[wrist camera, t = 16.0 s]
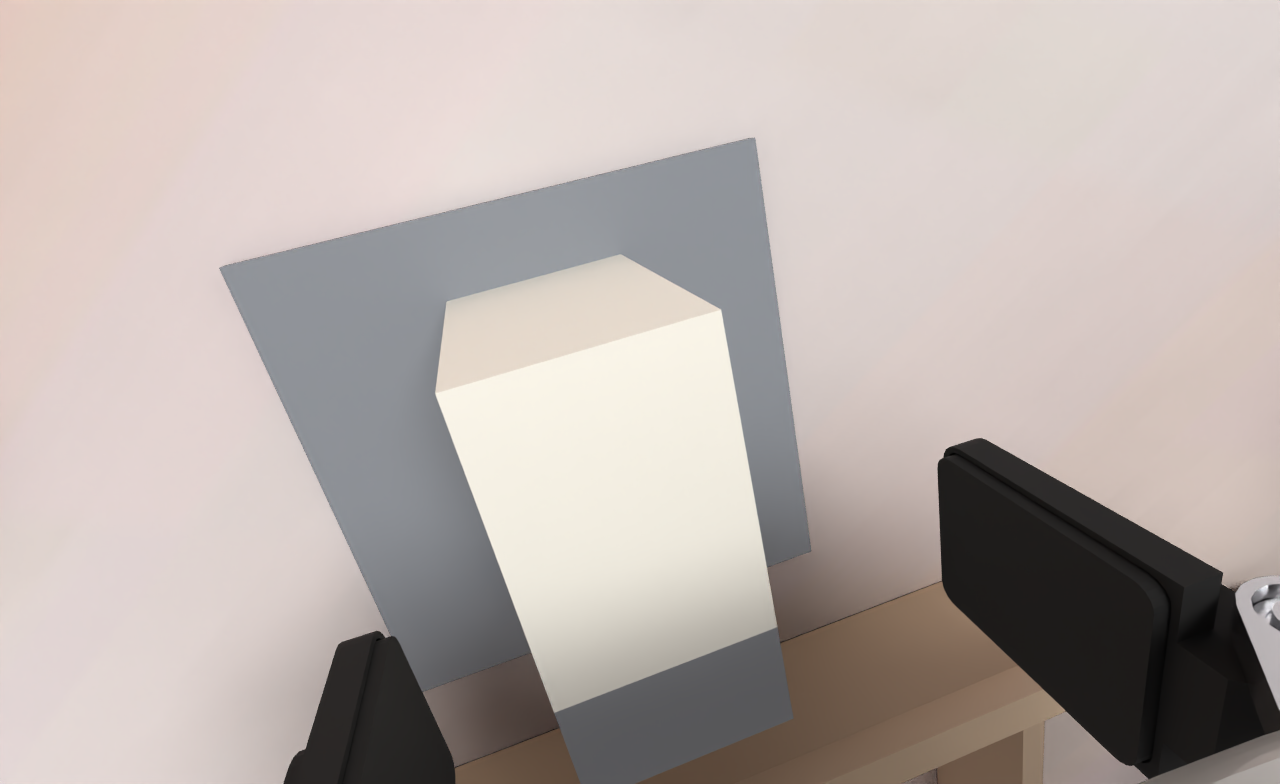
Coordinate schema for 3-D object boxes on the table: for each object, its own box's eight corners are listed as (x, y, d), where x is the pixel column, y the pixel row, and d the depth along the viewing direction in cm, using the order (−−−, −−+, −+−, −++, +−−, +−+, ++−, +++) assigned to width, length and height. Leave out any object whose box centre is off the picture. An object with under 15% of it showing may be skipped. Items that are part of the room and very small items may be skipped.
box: (620, 254, 16) (721, 309, 10) (686, 540, 20) (793, 718, 13) (446, 301, 16) (434, 393, 9) (545, 590, 19) (587, 803, 13)
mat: (748, 138, 17) (755, 137, 16) (805, 544, 22) (811, 551, 21) (225, 265, 15) (219, 267, 14) (419, 683, 19) (417, 693, 19)
